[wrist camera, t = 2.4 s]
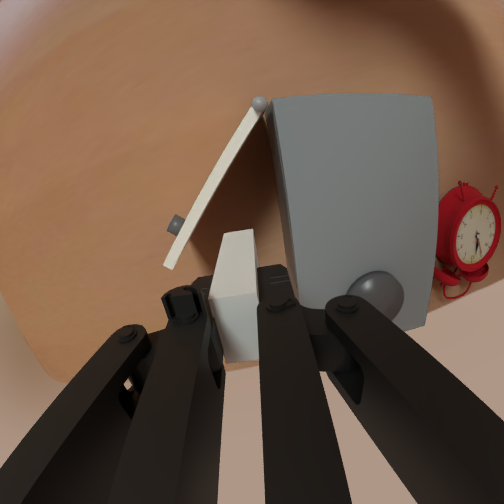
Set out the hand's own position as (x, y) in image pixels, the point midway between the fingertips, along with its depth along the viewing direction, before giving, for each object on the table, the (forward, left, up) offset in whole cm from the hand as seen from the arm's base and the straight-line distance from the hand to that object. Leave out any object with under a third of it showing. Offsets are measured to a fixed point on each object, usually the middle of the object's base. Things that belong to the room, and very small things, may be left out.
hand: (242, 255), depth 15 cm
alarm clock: (+8, +26, -14) cm, 30 cm away
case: (+2, +9, -14) cm, 16 cm away
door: (-3, -2, -13) cm, 14 cm away
